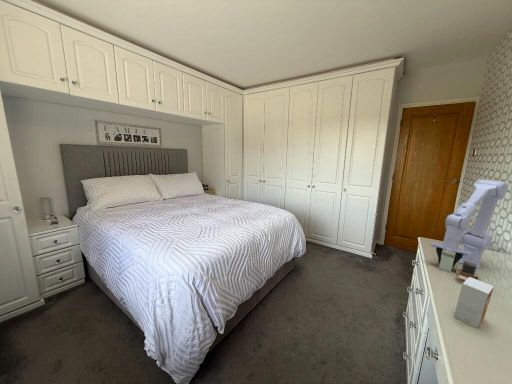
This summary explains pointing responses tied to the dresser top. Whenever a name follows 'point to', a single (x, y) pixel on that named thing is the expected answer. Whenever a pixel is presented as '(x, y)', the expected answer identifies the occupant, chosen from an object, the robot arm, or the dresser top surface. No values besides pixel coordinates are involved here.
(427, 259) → the dresser top surface
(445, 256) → the finger block
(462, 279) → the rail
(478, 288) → the small box
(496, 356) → the dresser top surface
